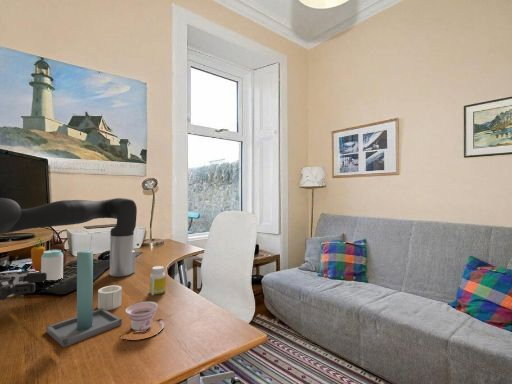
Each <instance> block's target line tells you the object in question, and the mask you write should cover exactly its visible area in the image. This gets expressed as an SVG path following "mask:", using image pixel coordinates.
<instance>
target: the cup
mask: <svg viewBox="0 0 512 384" xmlns="http://www.w3.org/2000/svg"><path fill="white" fill-rule="evenodd" d="M122 290H123V288H122V286H121V285H117V284H116V285H115V284H112V285H107V286H106V285H105V286H104V287H101V288H99V289H98V290H97V310H99V309H102V308H103V309H105V310H106V311H110V310H114V309H117V308H119V307H120V306H122V302H123V301H122V300H123V299H122V296H123V295H122V292H123V291H122Z"/></svg>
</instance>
